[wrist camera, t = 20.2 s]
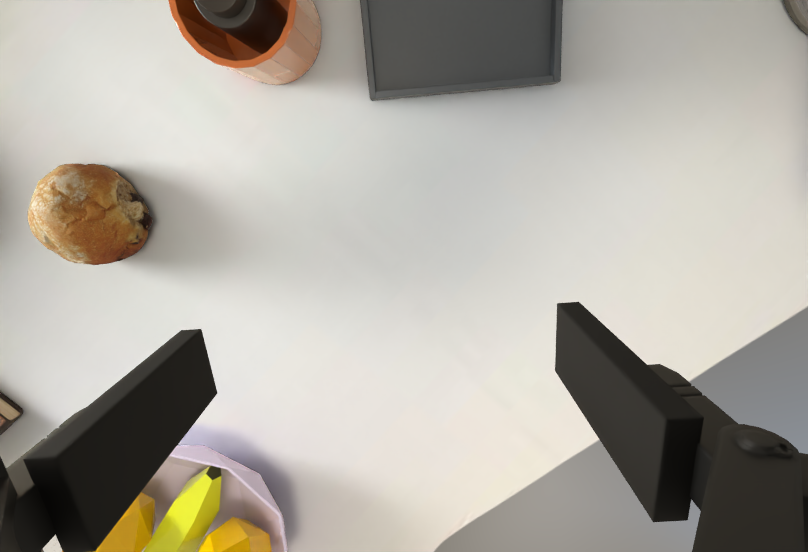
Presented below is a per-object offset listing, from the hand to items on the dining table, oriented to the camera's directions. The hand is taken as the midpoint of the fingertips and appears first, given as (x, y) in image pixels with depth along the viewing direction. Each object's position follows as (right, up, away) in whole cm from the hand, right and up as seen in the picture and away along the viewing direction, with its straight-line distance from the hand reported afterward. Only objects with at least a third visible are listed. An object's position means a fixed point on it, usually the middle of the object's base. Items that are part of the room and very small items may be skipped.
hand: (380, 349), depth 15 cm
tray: (+6, +26, +22) cm, 35 cm away
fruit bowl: (-27, -28, +39) cm, 55 cm away
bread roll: (-30, +9, +28) cm, 42 cm away
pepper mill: (-11, +25, +22) cm, 35 cm away
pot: (-11, +25, +22) cm, 35 cm away
